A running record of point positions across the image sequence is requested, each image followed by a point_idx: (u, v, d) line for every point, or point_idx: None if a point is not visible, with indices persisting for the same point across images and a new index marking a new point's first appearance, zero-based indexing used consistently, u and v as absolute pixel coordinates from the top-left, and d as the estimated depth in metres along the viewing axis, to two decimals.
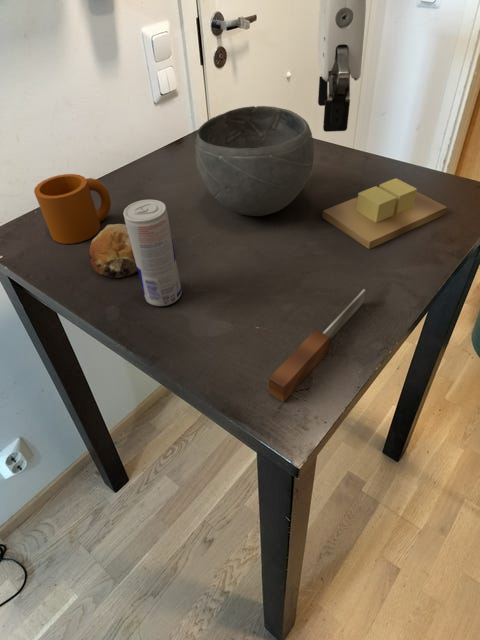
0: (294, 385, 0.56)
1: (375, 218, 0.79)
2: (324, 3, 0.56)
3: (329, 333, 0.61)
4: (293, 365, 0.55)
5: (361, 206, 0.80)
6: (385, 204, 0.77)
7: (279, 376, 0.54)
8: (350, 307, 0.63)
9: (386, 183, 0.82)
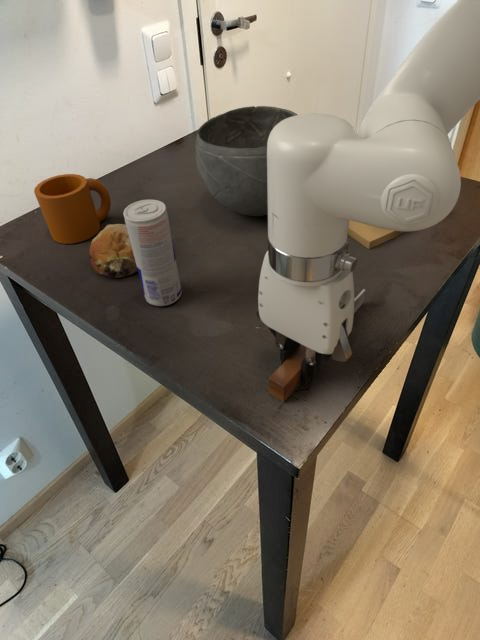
0: (294, 385, 0.56)
1: None
2: (315, 294, 0.45)
3: None
4: (293, 365, 0.55)
5: None
6: None
7: (279, 376, 0.54)
8: None
9: None
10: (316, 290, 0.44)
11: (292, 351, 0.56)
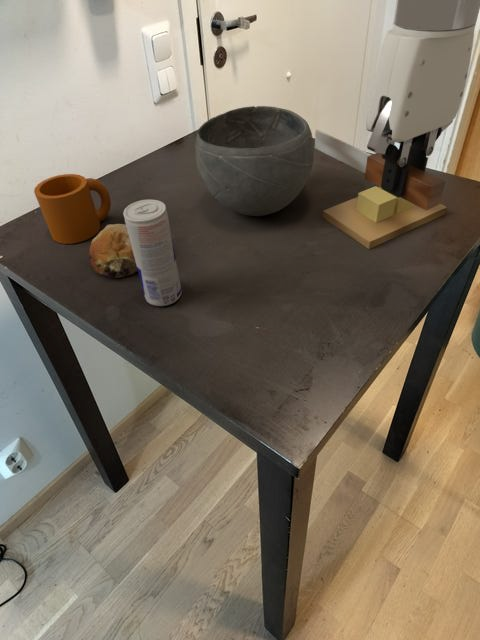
0: None
1: (375, 218, 0.79)
2: (467, 41, 0.45)
3: (363, 160, 0.60)
4: (416, 172, 0.54)
5: (361, 206, 0.80)
6: (385, 204, 0.77)
7: (431, 181, 0.52)
8: (337, 140, 0.62)
9: None
10: (469, 35, 0.45)
11: None
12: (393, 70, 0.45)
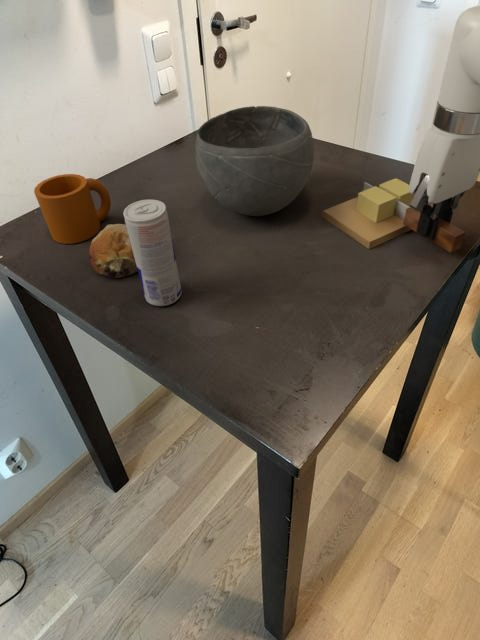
0: None
1: (375, 218, 0.79)
2: None
3: (402, 209, 0.79)
4: (444, 224, 0.72)
5: (361, 206, 0.80)
6: (385, 204, 0.77)
7: (454, 231, 0.71)
8: None
9: (386, 183, 0.82)
10: None
11: None
12: (431, 157, 0.63)
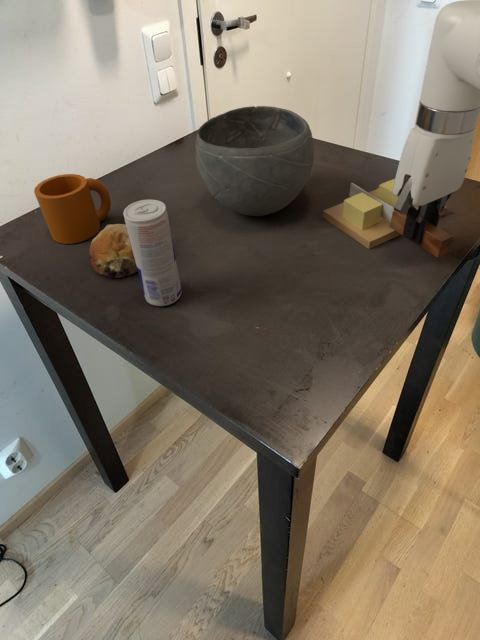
0: None
1: (361, 226, 0.77)
2: (470, 136, 0.62)
3: (389, 211, 0.76)
4: (430, 228, 0.70)
5: (347, 213, 0.79)
6: (371, 211, 0.76)
7: (441, 236, 0.69)
8: (369, 193, 0.79)
9: (386, 183, 0.82)
10: None
11: None
12: (415, 158, 0.61)
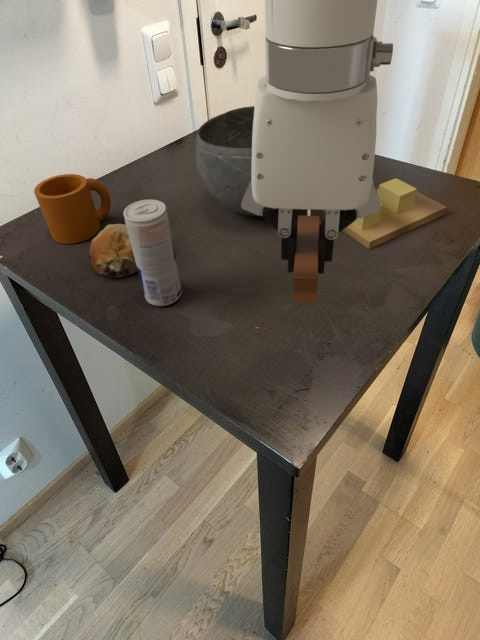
0: None
1: (361, 226, 0.77)
2: (352, 112, 0.34)
3: None
4: (307, 255, 0.44)
5: None
6: None
7: (303, 271, 0.42)
8: None
9: (386, 183, 0.82)
10: (353, 104, 0.33)
11: (296, 238, 0.44)
12: None
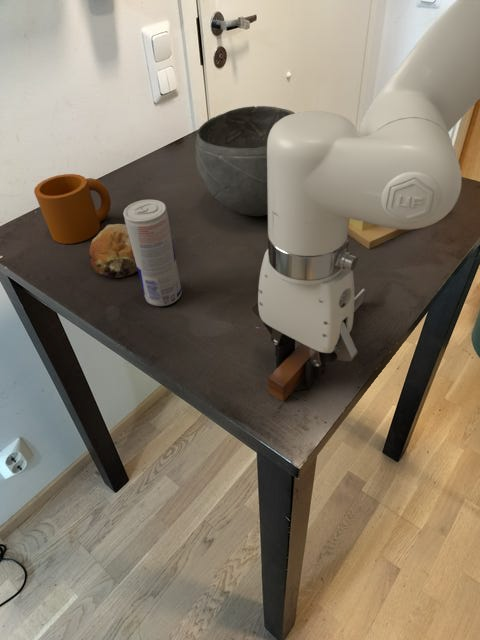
0: (294, 385, 0.56)
1: (361, 226, 0.77)
2: (316, 293, 0.45)
3: None
4: (292, 365, 0.55)
5: None
6: None
7: (278, 376, 0.54)
8: None
9: None
10: (316, 288, 0.44)
11: (287, 347, 0.57)
12: None
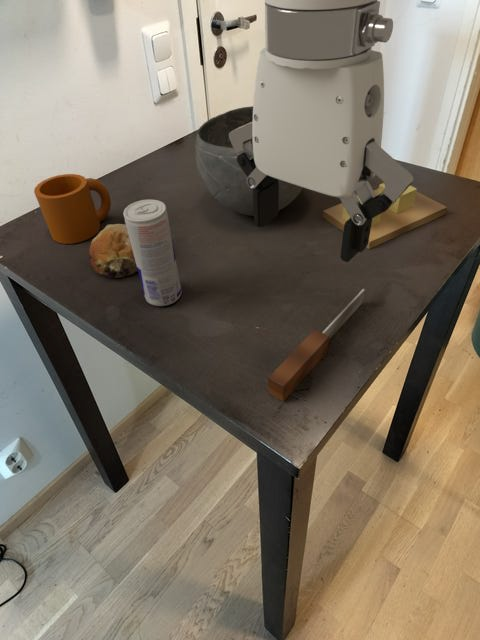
0: (294, 385, 0.56)
1: None
2: (332, 87, 0.32)
3: (328, 333, 0.61)
4: (292, 365, 0.55)
5: (347, 213, 0.79)
6: None
7: (278, 376, 0.54)
8: (349, 306, 0.63)
9: None
10: (333, 79, 0.31)
11: (268, 194, 0.44)
12: None
